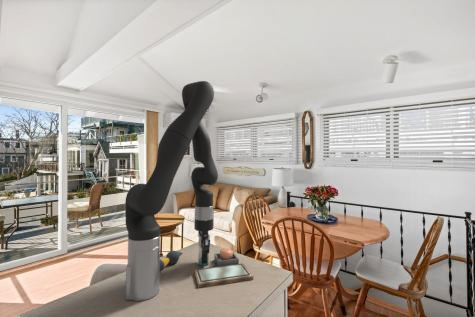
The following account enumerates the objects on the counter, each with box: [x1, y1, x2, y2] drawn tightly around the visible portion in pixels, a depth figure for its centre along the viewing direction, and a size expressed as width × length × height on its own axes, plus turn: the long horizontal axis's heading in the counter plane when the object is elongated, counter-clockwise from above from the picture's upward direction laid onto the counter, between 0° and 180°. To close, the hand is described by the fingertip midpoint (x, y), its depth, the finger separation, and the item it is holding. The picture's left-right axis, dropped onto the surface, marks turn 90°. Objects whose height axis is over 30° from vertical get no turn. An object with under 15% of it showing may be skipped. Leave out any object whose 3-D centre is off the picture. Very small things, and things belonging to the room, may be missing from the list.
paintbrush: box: [160, 250, 183, 272], centre depth 88 cm, size 20×5×5 cm, turn 156°
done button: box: [219, 248, 234, 260], centre depth 94 cm, size 5×5×3 cm
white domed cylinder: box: [198, 243, 210, 267], centre depth 92 cm, size 4×4×8 cm
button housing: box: [213, 251, 240, 267], centre depth 94 cm, size 8×8×2 cm
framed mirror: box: [193, 263, 255, 289], centre depth 83 cm, size 19×11×1 cm, turn 108°
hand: (203, 260), depth 92 cm, fingers closed on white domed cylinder, 4 cm apart
